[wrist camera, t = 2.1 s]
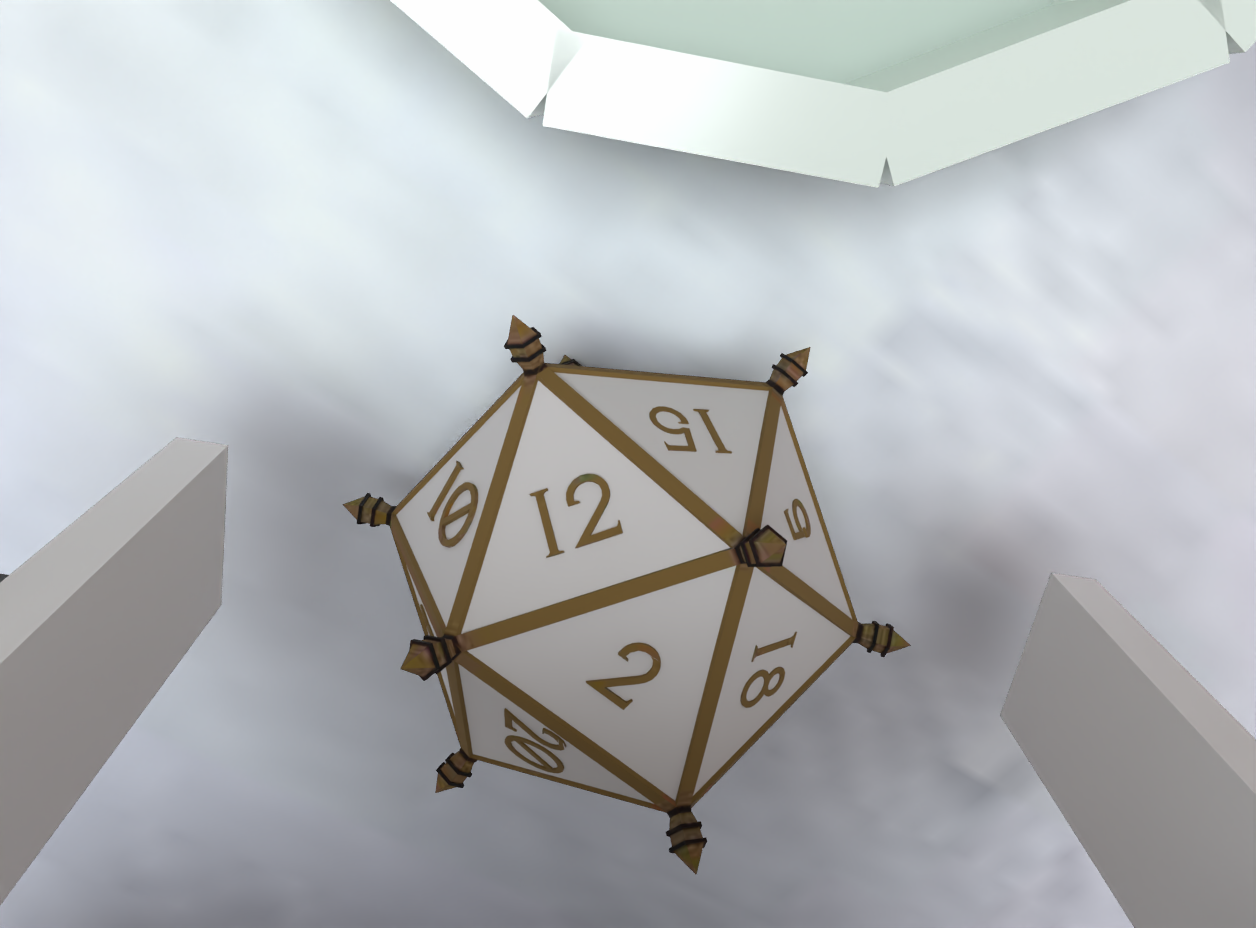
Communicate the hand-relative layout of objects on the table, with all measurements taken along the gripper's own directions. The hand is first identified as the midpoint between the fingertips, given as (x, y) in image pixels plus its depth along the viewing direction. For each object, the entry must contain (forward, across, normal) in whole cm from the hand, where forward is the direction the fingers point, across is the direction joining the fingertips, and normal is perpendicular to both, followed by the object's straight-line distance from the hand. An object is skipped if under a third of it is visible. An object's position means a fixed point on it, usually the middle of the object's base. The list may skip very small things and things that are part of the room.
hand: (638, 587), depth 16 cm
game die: (+5, 0, 0) cm, 5 cm away
